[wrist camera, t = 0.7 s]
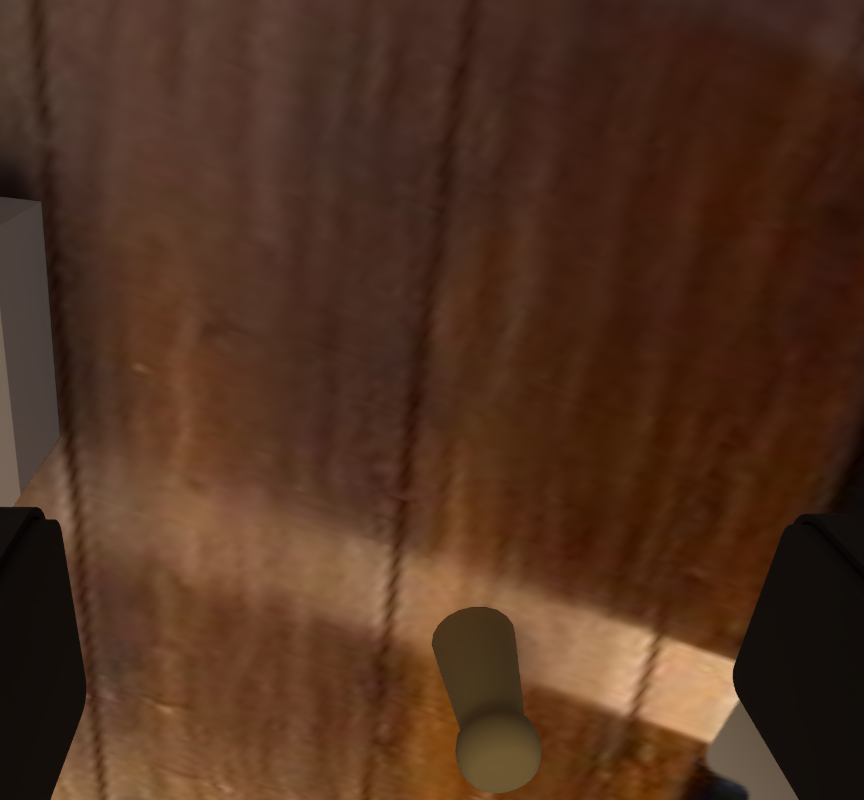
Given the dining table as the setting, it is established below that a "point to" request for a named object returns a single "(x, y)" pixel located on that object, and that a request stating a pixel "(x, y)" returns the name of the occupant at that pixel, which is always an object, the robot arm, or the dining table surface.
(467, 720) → the olive pawn
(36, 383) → the low cabinet
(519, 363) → the dining table surface
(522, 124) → the dining table surface
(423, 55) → the dining table surface
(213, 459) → the dining table surface
